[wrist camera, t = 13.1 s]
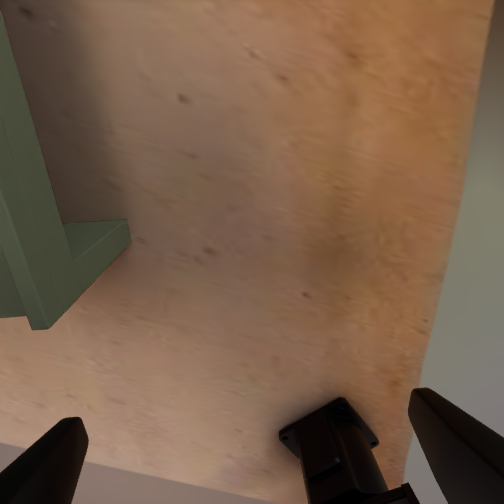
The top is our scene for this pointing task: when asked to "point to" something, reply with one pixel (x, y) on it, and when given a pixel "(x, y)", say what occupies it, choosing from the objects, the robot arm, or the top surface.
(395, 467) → the top surface
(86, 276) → the shelf
